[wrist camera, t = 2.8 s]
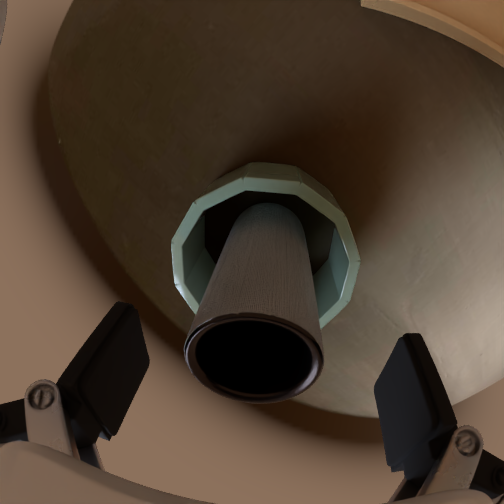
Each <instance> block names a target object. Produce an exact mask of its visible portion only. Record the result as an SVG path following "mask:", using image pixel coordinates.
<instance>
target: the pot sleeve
mask: <svg viewBox="0 0 504 504" xmlns="http://www.w3.org/2000/svg"><path fill="white" fill-rule="evenodd" d="M245 190H249V191H261V192H272V193H282V194H292V195H297V196H298V197H300V198H301V199H303V200H304V201H305V202H307V203H308V204H310V205H311V206H312V207H314V208H315V209H316V210H318V211H319V212H321V213H322V214H323V215H325V216H326V217H327V218H329V219H330V220H331V221H332V223H333V226H334V232H333V237H332V242H331V248H330V253H329V258H328V260H327V261H326V262H325V263H324V264H323V265H322V266H321V268H320V269H319V270H318V271H317V272H316V273H315V274H314V275H313V276H312V277H313V283H314V289H315V295H316V302H317V308H318V315H319V322H320V329H322V328H323V327H324V326H325V325H326V324H327V323H328V322H329V321H330V320H331V319H333V318H334V317H335V316H336V315H337V314H338V313H339V312H340V311H341V310H342V309H343V308H344V307H345V306H346V305H347V304H348V303H349V301H350V299H351V296H352V292H353V289H354V286H355V282H356V278H357V275H358V271H359V267H360V263H361V258H360V254H359V251H358V248H357V245H356V242H355V240H354V237H353V234H352V231H351V228H350V225H349V223H348V220H347V217H346V215H345V214H344V212H343V211H342V209H341V207H340V206H339V204H338V203H337V201H336V200H335V198H334V197H333V195H332V194H331V192H330V191H329V189H327V188H326V187H325V186H323V185H322V184H321V183H319V182H318V181H317V180H315V179H314V178H313V177H311V176H310V175H308V174H307V173H306V172H304V171H303V170H302V169H300V168H299V167H297V166H296V167H295V165H286V164H275V163H264V162H253V163H252V162H251V163H249V164H247V165H245V166H243V167H240V168H238V169H236V170H234V171H232V172H230V173H228V174H226V175H224V176H222V177H220V178H218V179H217V180H215V181H214V182H213V183H212V184H211V185H210V186H209V187H208V188H207V189H206V190H205V191H204V192H203V193H202V194H201V195H200V196H199V197H198V198H197V199H196V200H195V201H194V202H193V203H192V205H191V207H190V209H189V210H188V212H187V214H186V216H185V217H184V219H183V221H182V223H181V224H180V226H179V228H178V230H177V231H176V233H175V235H174V237H173V239H172V243H171V249H172V262H173V273H174V283H175V284H176V285H175V286H176V287H177V289H178V290H179V292H180V293H181V295H182V296H183V298H184V299H185V300H186V302H187V303H188V305H189V306H190V307H191V309H192V310H193V312H194V313H195V314H196V313H197V311H198V308H199V306H200V303H201V301H202V298H203V296H204V293H205V291H206V289H207V286H208V284H209V281H210V279H211V276H212V274H213V272H214V269H215V267H216V264H215V263H214V261H213V259H212V258H211V256H210V254H209V253H208V251H207V249H206V248H205V214H206V213H207V211H208V209H209V208H210V207H212V206H214V205H216V204H218V203H220V202H222V201H224V200H226V199H228V198H231V197H233V196H235V195H237V194H239V193H241V192H243V191H245Z"/></svg>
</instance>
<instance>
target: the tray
mask: <svg viewBox="0 0 504 504" xmlns="http://www.w3.org/2000/svg"><path fill="white" fill-rule="evenodd" d="M361 6H362V7H366V8H370V9H374V10H378V11H381V12H385V13H388V14H391V15H394V16H397V17H400V18H403V19H406V20H409V21H412V22H414V23H417V24H420V25H422V26H425V27H427V28H430V29H432V30H434V31H437V32H439V33H441V34H444V35H446V36H448V37H450V38H452V39H454V40H456V41H458V42H460V43H462V44H464V45H466V46H468V47H470V48H472V49H473V50H475V51H477V52H479V53H481V54H482V55H484V56H486V57H487V58H489V59H491V60H492V61H494V62H496V63H497V64H499V65H500V66H502V67H503V68H504V0H361Z"/></svg>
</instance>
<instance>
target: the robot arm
mask: <svg viewBox="0 0 504 504" xmlns="http://www.w3.org/2000/svg"><path fill="white" fill-rule="evenodd" d="M149 361H150V360H149V355H148V352H147V348H146V344H145V340H144V336H143V332H142V328H141V323H140V319H139V314H138V311H137V309H135V308H134V306H133V305H132V304H129V303H124V302H119V301H118V302H116V303H115V304H114V306H113V307H112V308H111V309H110V311H109V312H108V313H107V314H106V316H105V317H104V318H103V320H102V321H101V322H100V324H99V325H98V326H97V327H96V329H95V330H94V331H93V333H92V334H91V335H90V336H89V338H88V339H87V341H86V342H85V343H84V345H83V346H82V347H81V349H80V350H79V351H78V353H77V354H76V356H75V357H74V358H73V360H72V361H71V362H70V364H69V365H68V367H67V368H66V369H65V371H64V372H63V374H62V375H61V377H60V378H59V380H58V382H57V383H56V384H55V383H54V382H52V381H50V380H46V379H45V380H38V381H36V382H34V383H33V384H31V385H30V386H29V387H28V389H27V391H26V393H25V398H24V399H20V400H16V401H12V402H8V403H4V404H0V504H214V503H208V502H204V501H199V500H193V499H189V498H185V497H181V496H177V495H173V494H169V493H166V492H162V491H159V490H155V489H152V488H149V487H146V486H143V485H140V484H137V483H134V482H131V481H128V480H126V479H123V478H121V477H118V476H115V475H113V474H110V473H108V472H105V469H104V467H103V464H102V462H101V458H100V456H99V452H98V450H97V446H96V441H97V438H98V437H101V438H103V439H106V440H108V441H110V439H111V437H112V436H115V435H116V434H117V432H118V430H119V428H120V426H121V424H122V422H123V419H124V417H125V415H126V413H127V411H128V409H129V407H130V404H131V402H132V400H133V398H134V396H135V394H136V392H137V390H138V388H139V386H140V384H141V382H142V380H143V377H144V375H145V373H146V371H147V369H148V367H149ZM374 394H375V399H376V404H377V409H378V414H379V419H380V424H381V430H382V436H383V441H384V448H385V454H386V461H387V465H388V466H391V471H392V472H396V471H402V470H404V475H405V477H404V479H403V480H402V482H401V483H400V485H399V486H398V488H397V489H396V491H395V493H394V494H393V496H392V497H391V498H390V500H389V501H388V503H384V504H504V461H502V460H501V459H499V458H497V457H496V456H494V455H492V454H491V453H489V452H487V451H485V450H484V449H483V439H482V436H481V434H480V432H479V431H478V430H477V429H476V428H474V427H472V426H469V425H464V426H461V427H459V428H458V427H457V420H456V417H455V414H454V412H453V409H452V406H451V403H450V401H449V398H448V396H447V393H446V390H445V388H444V385H443V383H442V380H441V378H440V376H439V373H438V371H437V369H436V366H435V364H434V362H433V359H432V357H431V355H430V353H429V351H428V348H427V346H426V344H425V342H424V340H423V338H422V336H421V334H419V333H405V334H404V335H403V337H400V338H399V339H398V341H397V343H396V345H395V347H394V349H393V351H392V353H391V355H390V357H389V359H388V361H387V363H386V365H385V367H384V369H383V370H382V372H381V374H380V376H379V378H378V379H377V381H376V383H375V386H374Z"/></svg>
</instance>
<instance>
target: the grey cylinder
mask: <svg viewBox="0 0 504 504" xmlns="http://www.w3.org/2000/svg"><path fill="white" fill-rule="evenodd" d="M184 356H185V360H186V363H187V366H188V368H189V370H190V371H191V373H192V374H193V375H194V377H195V378H196V379H197V380H198V381H199V382H200V383H201V384H203V385H204V386H205V387H207V388H208V389H210V390H211V391H213V392H215V393H217V394H219V395H221V396H223V397H226V398H229V399H232V400H236V401H241V402H246V403H274V402H279V401H283V400H286V399H290V398H293V397H295V396H297V395H299V394H301V393H303V392H304V391H306V390H307V389H308V388H310V387H311V386H312V385H313V384H314V383H315V382H316V380H317V379H318V378H319V376H320V374H321V372H322V369H323V366H324V352H323V344H322V336H321V329H320V322H319V315H318V308H317V302H316V295H315V289H314V283H313V277H312V271H311V265H310V260H309V254H308V248H307V243H306V238H305V233H304V229H303V227H302V224H301V222H300V220H299V219H298V217H297V216H296V215H295V214H294V213H293V212H292V211H291V210H289V209H288V208H286V207H284V206H282V205H279V204H275V203H260V204H256V205H253V206H251V207H249V208H247V209H246V210H245V211H243V212H242V213H241V214H240V215H239V217H238V218H237V220H236V221H235V223H234V225H233V227H232V229H231V231H230V234H229V236H228V238H227V241H226V243H225V245H224V248H223V250H222V252H221V255H220V257H219V260H218V262H217V264H216V267H215V269H214V272H213V274H212V276H211V279H210V281H209V284H208V286H207V289H206V291H205V293H204V296H203V298H202V301H201V303H200V306H199V308H198V311H197V313H196V316H195V318H194V321H193V323H192V326H191V328H190V331H189V333H188V336H187V339H186V342H185V346H184Z"/></svg>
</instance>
